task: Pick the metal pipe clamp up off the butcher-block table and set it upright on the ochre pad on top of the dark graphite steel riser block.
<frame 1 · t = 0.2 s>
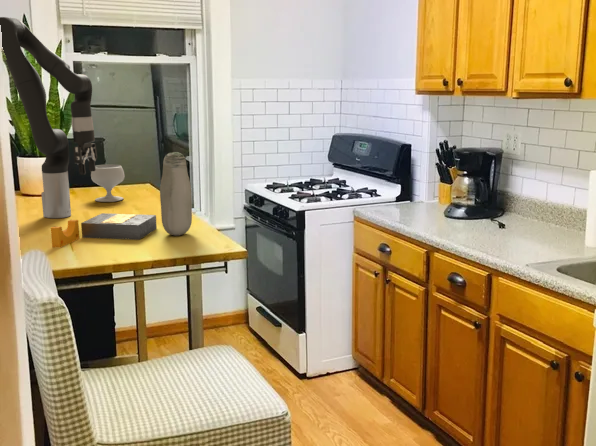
hand: (87, 172, 242), 17 cm above the table, tool pointing down, fingers open, 8 cm apart
grey bottle: (177, 235, 219), on the table
chalice: (109, 200, 281), on the table
pipe clamp: (63, 243, 208), on the table
steel riser: (120, 233, 221), on the table
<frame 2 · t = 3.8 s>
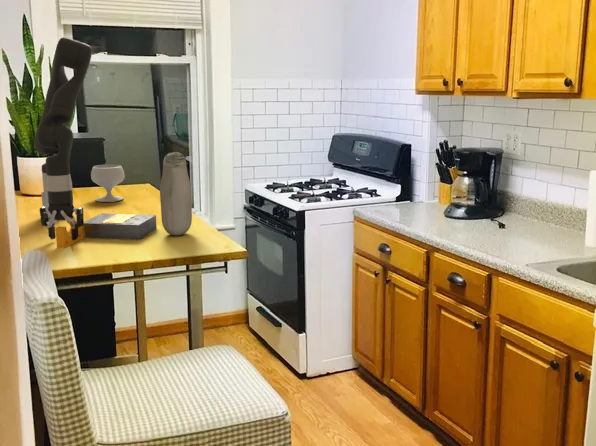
hand: (63, 239, 208), 1 cm above the table, tool pointing down, fingers open, 7 cm apart
pipe clamp: (67, 243, 208), on the table, touching gripper
everything else where it was.
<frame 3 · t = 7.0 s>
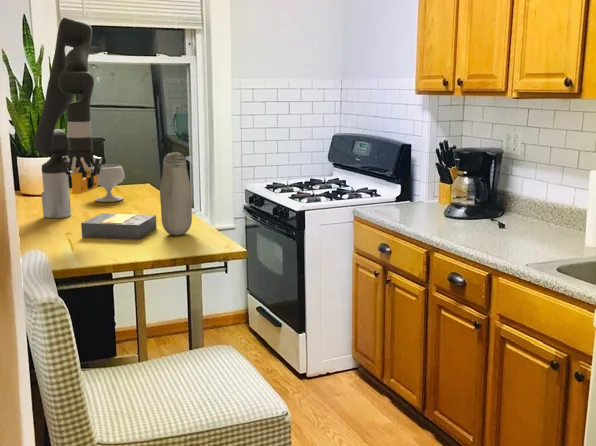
hand: (83, 187, 210), 17 cm above the table, tool pointing down, fingers closed on pipe clamp, 4 cm apart
pipe clamp: (83, 191, 210), point 16 cm above the table, touching gripper
everything else where it was.
when the fingers open (7 cm above the table, at t = 9.8 s): pipe clamp stays where it is, resting on steel riser.
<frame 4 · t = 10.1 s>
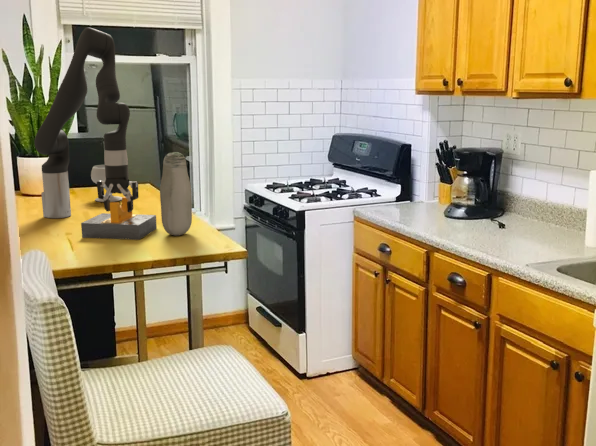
hand: (119, 211, 219), 8 cm above the table, tool pointing down, fingers open, 7 cm apart
pipe clamp: (119, 218, 220), point 5 cm above the table, touching steel riser
everything else where it was.
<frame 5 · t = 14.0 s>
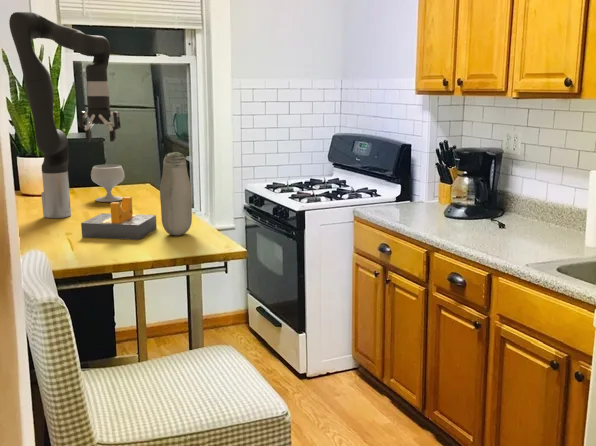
hand: (101, 141, 228), 30 cm above the table, tool pointing down, fingers open, 8 cm apart
nothing on the table moved.
at the end: pipe clamp inside the target area (0.4 cm from its centre), point 5.0 cm above the table; pipe clamp tilted 0°; the gripper is holding nothing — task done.
